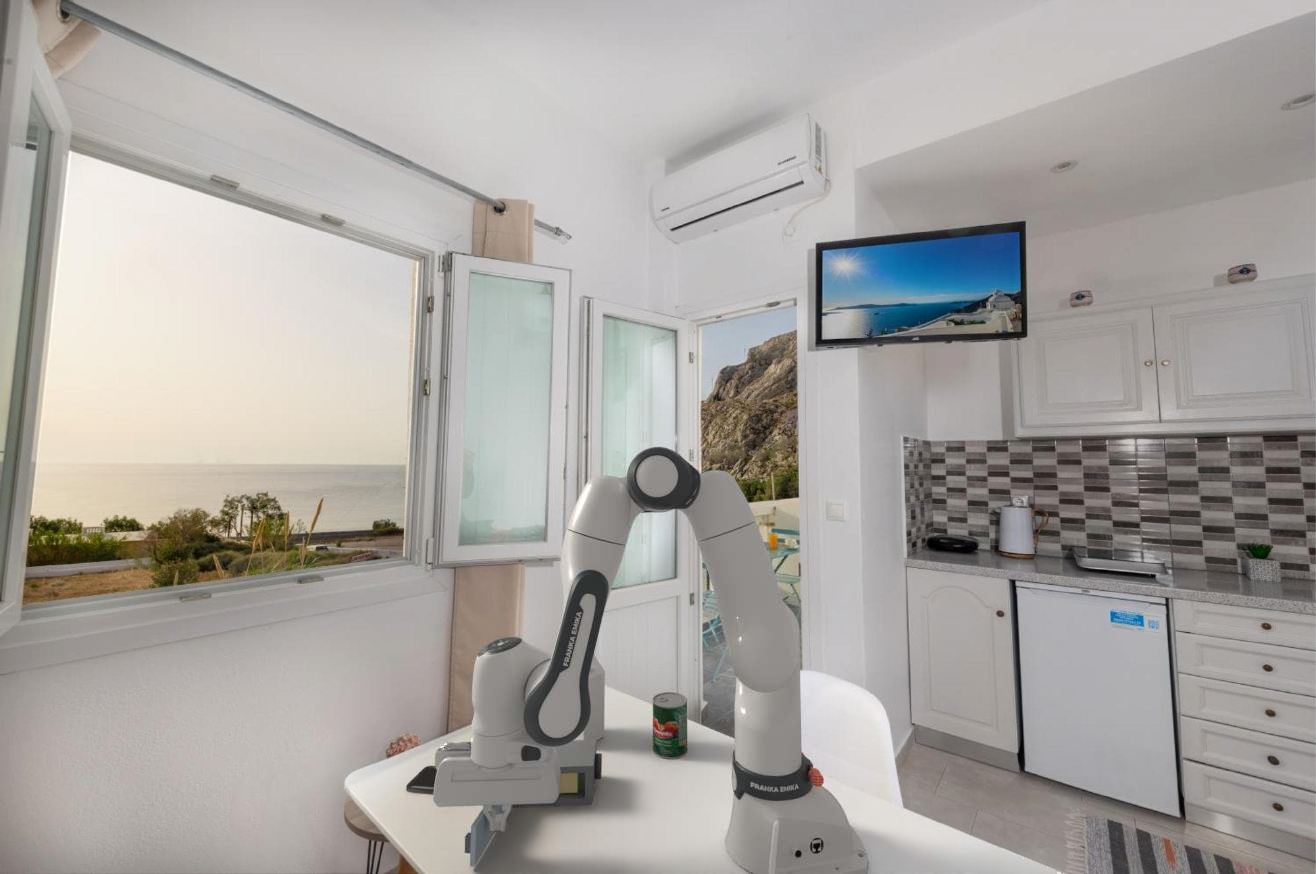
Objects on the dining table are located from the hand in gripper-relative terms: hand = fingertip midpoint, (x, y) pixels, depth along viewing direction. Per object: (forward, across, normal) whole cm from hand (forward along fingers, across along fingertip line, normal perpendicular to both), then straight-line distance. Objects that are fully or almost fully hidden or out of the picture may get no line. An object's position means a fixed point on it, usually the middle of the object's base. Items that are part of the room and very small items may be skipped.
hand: (497, 829), depth 84 cm
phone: (+4, -15, +20) cm, 25 cm away
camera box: (+4, +6, +16) cm, 18 cm away
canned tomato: (+4, +30, +30) cm, 43 cm away
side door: (+3, -2, +4) cm, 5 cm away
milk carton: (+4, +10, +36) cm, 38 cm away
